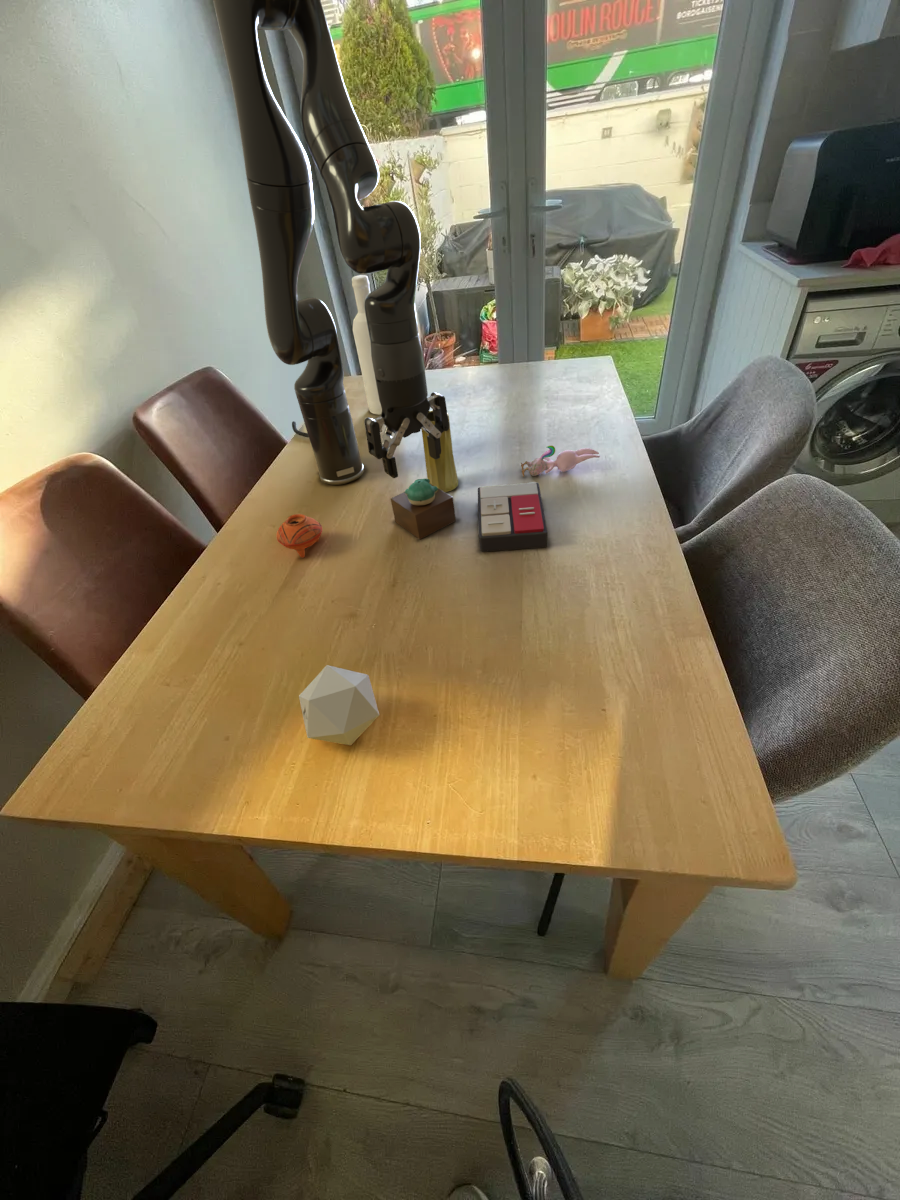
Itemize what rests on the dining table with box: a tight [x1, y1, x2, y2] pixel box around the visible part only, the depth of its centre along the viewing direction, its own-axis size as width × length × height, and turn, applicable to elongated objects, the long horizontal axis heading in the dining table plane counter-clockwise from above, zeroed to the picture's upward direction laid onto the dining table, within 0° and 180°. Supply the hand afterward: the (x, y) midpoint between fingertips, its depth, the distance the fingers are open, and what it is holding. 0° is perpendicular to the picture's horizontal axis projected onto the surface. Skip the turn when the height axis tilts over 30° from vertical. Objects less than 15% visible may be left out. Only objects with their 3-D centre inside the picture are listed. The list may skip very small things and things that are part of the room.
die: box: [298, 664, 380, 746], centre depth 65 cm, size 8×9×10 cm
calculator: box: [477, 481, 548, 553], centre depth 95 cm, size 11×4×15 cm
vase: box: [420, 409, 459, 493], centre depth 104 cm, size 6×6×14 cm
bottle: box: [351, 274, 382, 416], centre depth 132 cm, size 8×8×30 cm
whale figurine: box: [404, 478, 438, 505], centre depth 95 cm, size 6×7×4 cm
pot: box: [275, 513, 323, 559], centre depth 96 cm, size 8×8×7 cm
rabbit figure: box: [520, 445, 601, 478], centre depth 106 cm, size 6×6×15 cm
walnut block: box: [390, 483, 457, 540], centre depth 98 cm, size 8×8×5 cm
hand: (414, 466), depth 93 cm, fingers open, 8 cm apart
